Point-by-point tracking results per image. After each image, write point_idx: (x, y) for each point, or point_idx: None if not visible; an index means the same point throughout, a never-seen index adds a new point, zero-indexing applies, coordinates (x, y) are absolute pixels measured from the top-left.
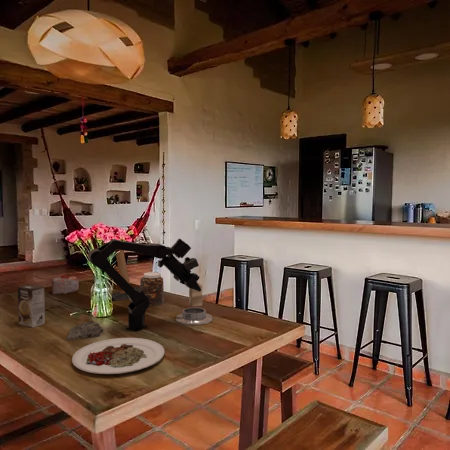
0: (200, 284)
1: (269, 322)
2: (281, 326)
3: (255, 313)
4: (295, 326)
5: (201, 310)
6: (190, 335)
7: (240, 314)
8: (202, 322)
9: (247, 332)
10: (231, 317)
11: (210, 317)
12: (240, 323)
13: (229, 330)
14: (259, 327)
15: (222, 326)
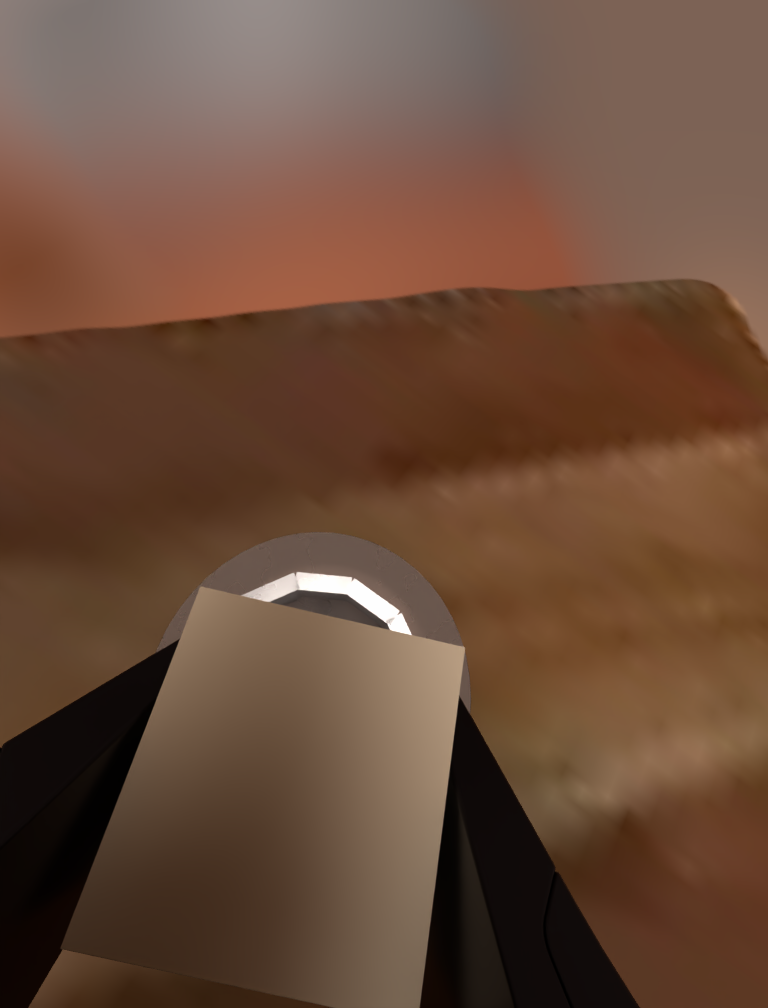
0: (385, 652)
1: (622, 346)
2: (701, 348)
3: (451, 295)
4: (723, 307)
5: (301, 592)
6: (660, 979)
7: (418, 360)
8: (469, 706)
9: (733, 545)
10: (438, 436)
11: (401, 575)
12: (569, 470)
13: (662, 613)
14: (677, 436)
15: (571, 600)
